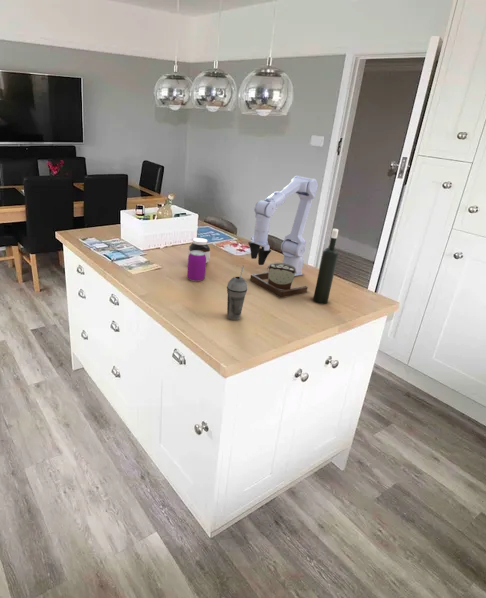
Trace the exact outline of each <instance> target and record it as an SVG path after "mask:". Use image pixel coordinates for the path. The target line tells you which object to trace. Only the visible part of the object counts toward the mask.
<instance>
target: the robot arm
mask: <svg viewBox="0 0 486 598" xmlns="http://www.w3.org/2000/svg"><path fill="white" fill-rule="evenodd" d="M318 187H319V183H318V181H317V179H316V178H310V177H306V176H301V175H299V174H298V175H294V177H293V178H291V180H290V182H289V183H288V184H287V185H286V186H285V187H283V188H282V190H281V191H279V190H277V191H276V190H275V191H273V193H272V194H270V195H269V196H268V197H266V198H265V199H261V200H260V199H259V200H258V201H257V202H256V203H255V206H254V207H253V210H254V214H255V215H254V217H255V225H254V233H253V235H251V236H250V241H248V246H249V251H250V258H251V259H252V260H253V259H254V260H255V259H256V260H257V263H258V266H264V264H265V263H266V261H267V258H268V257H269V255H270V253H271V252H272V249H270V245H269V242H268V238H269V230H270V224H271V218H272V216H273V215H274V214H275V212H276V210H277V209H278V208H280V206H282V205H283V204H284V203H285V202H286V199H287V198H289V197H291V196H293V194H296V195H297V196H298V197H299V203H298V206H297V210H296V213H295V217H294V219H293V223H292V226H291V231H290V233H288V234H287V235H285V236H284V238H283V241H282V242H281V244H280V251H281V252H282V255H283V256H282V262H281V263H286V264H289V265H292V266H294V267H295V268H296V273H295V275H294V277H297V276H303V275H304V273H303V268H304V262H305V260H304V257H303V255H304V254H305V252H306V243H307V242H306V240H305V238H304V237H303V235H304V231H305V227H306V223H307V221H308V218H309V214H310V211H311V207H312V203H313V200H314V199H315V197H316V195H317V190H318Z"/></svg>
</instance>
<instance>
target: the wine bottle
mask: <svg viewBox="0 0 486 598" xmlns="http://www.w3.org/2000/svg"><path fill="white" fill-rule="evenodd" d="M339 231H340V230H339V228H332V230H331V235H330V241H329V246H328V247H326V248H324V249H323V251H322V253H321V254H322V255H321V259H320V265H319V269H318V274H317V280H316V284H315V288H314V293H313V298H312V301H313V302H314V303H317V304H320V305H326V304H328V302H329V298H330V294H331V289H332V285H333V279H334V277H335V276H334V275H335V271H336V267H337V261H338V257H339V251H338V249H336V244H337V243H336V242H337V239H338V235H339Z"/></svg>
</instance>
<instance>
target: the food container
mask: <svg viewBox="0 0 486 598" xmlns="http://www.w3.org/2000/svg"><path fill="white" fill-rule="evenodd" d="M266 269H267V270H268V271H267V272H268V278H267V283H269V284H271V285H273V286H274V287H276V288H278V289H280V290H281V291H283V290H288V289H292V286H293V282H294V278H295V276H294V275H295V273H296V268H295V267H294V266H292V265H289V264H286V263H282V262H271V263H269V264H268V266H267V268H266Z"/></svg>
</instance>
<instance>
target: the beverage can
mask: <svg viewBox="0 0 486 598" xmlns="http://www.w3.org/2000/svg"><path fill="white" fill-rule="evenodd" d="M206 265H207V264H206V256H205V252H203V251H199V250H194V251H191V252H190V254H189V256H188V255H187V271H186V272H187V273H186V278H187V279H188V280H189V281H191V282H196V283H197V282H202V281H203V280H204V279H205V277H206V267H207V266H206Z"/></svg>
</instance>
